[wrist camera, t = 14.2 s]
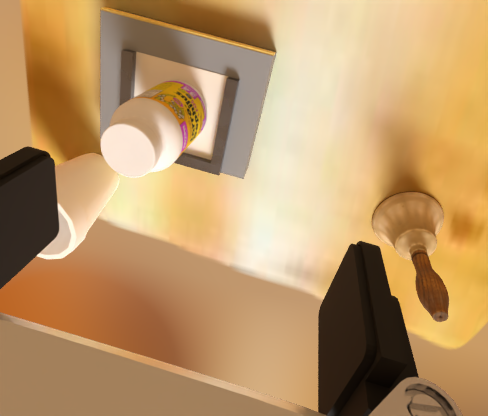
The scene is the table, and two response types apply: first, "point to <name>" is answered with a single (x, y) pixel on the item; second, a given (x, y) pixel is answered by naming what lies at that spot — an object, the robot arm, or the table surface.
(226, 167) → the loading dock
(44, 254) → the foam cup
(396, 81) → the table surface
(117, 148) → the supplement bottle
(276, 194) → the table surface
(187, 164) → the bay rails
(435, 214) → the hand bell
